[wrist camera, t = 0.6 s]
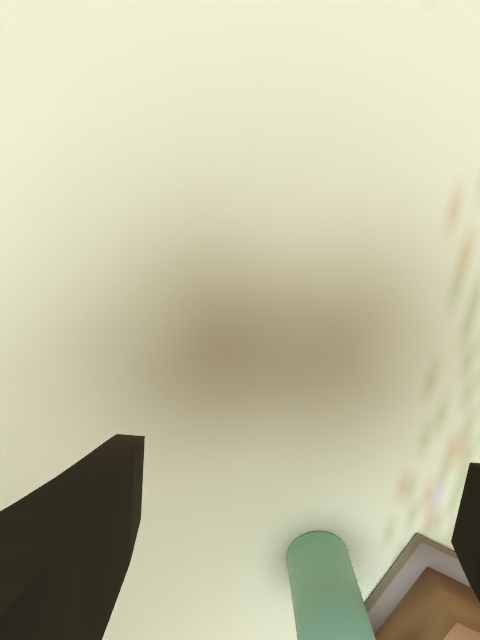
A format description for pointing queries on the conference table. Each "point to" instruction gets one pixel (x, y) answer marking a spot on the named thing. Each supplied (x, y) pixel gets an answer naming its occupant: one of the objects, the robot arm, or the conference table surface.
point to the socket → (424, 597)
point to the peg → (325, 590)
